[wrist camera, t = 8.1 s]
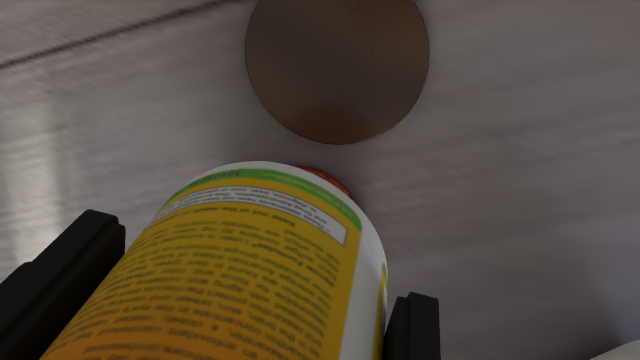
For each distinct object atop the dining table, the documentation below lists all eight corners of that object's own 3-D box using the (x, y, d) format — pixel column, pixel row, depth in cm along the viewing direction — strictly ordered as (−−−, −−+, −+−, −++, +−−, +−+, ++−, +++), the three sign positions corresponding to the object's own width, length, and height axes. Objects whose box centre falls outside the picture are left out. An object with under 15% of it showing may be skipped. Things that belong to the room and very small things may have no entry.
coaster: (261, -61, 27) (258, -60, 26) (453, -17, 26) (453, -15, 26) (237, 117, 31) (233, 121, 30) (401, 158, 31) (401, 163, 30)
